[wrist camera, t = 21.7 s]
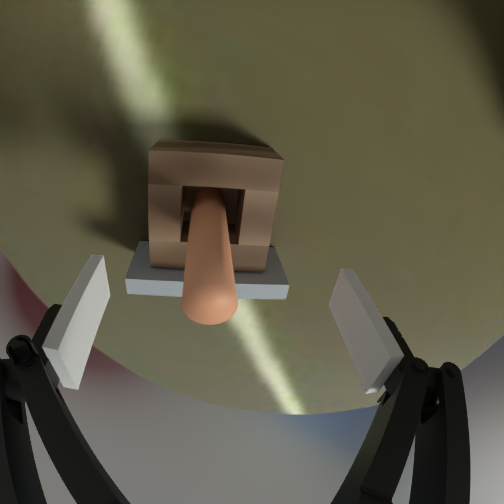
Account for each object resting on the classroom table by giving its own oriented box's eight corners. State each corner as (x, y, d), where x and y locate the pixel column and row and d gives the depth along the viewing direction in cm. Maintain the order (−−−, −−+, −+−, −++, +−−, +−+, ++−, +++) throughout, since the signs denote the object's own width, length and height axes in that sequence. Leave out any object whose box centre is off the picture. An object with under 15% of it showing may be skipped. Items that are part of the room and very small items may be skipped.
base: (139, 240, 29) (125, 278, 23) (274, 247, 31) (289, 284, 26) (140, 254, 29) (127, 293, 24) (272, 260, 32) (285, 299, 26)
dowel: (194, 185, 25) (181, 280, 14) (225, 187, 26) (240, 283, 14) (192, 214, 27) (181, 323, 15) (222, 215, 27) (235, 325, 15)
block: (159, 139, 24) (148, 150, 20) (271, 147, 26) (284, 160, 21) (158, 239, 29) (150, 266, 25) (256, 244, 30) (264, 271, 26)
